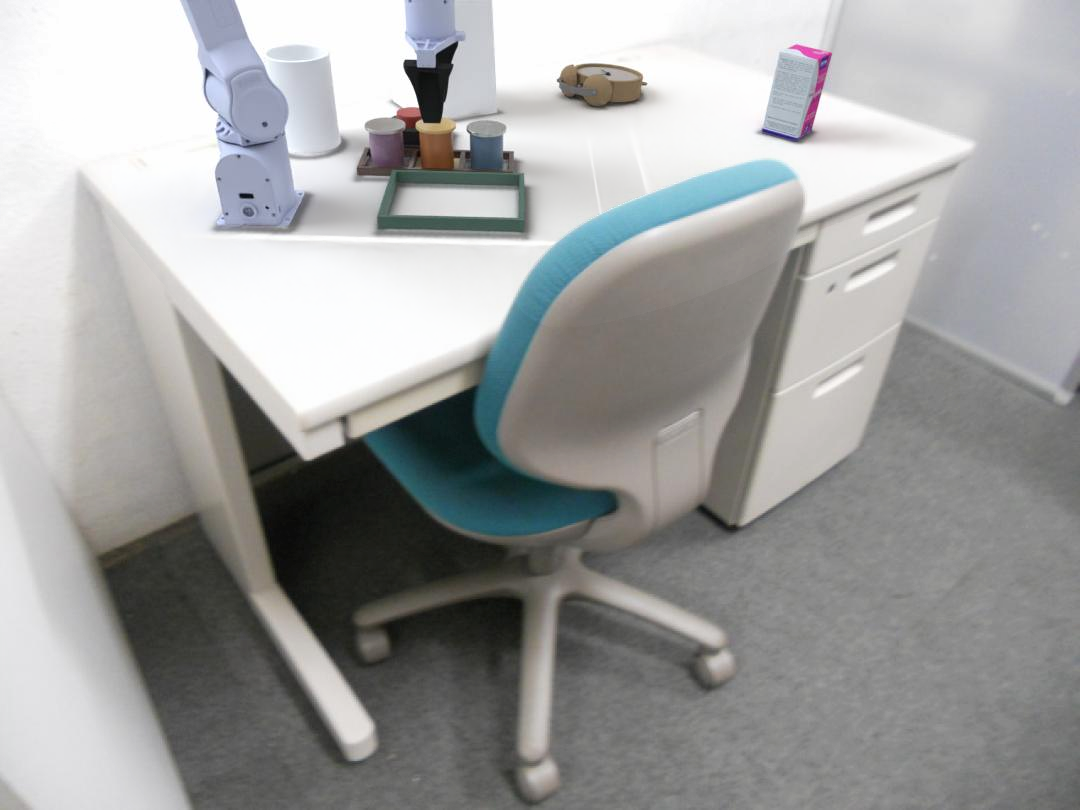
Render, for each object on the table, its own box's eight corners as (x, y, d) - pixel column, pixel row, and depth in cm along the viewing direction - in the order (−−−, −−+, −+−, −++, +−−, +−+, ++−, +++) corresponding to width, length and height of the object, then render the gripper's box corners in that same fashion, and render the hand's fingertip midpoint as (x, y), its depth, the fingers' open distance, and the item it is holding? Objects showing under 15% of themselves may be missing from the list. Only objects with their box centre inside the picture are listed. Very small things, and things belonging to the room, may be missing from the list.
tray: (523, 236, 92) (524, 220, 91) (378, 233, 92) (377, 216, 90) (523, 188, 102) (524, 172, 101) (393, 184, 102) (392, 169, 101)
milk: (392, 101, 126) (377, -95, 110) (458, 90, 132) (453, -99, 116) (429, 125, 119) (418, -82, 103) (497, 112, 124) (497, -87, 108)
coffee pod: (455, 174, 104) (454, 131, 100) (416, 173, 104) (413, 130, 100) (458, 159, 108) (457, 117, 104) (420, 158, 107) (417, 116, 104)
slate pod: (505, 176, 104) (506, 134, 101) (466, 175, 104) (465, 133, 101) (506, 161, 108) (506, 120, 105) (468, 160, 108) (467, 119, 104)
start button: (428, 120, 112) (428, 107, 111) (425, 130, 109) (425, 117, 108) (399, 119, 112) (398, 106, 111) (395, 129, 109) (394, 116, 108)
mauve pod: (405, 174, 104) (402, 132, 100) (366, 173, 103) (361, 130, 100) (410, 159, 108) (407, 117, 104) (371, 158, 107) (367, 116, 104)
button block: (452, 135, 116) (451, 112, 114) (448, 157, 110) (447, 133, 108) (381, 133, 115) (379, 110, 113) (372, 155, 109) (370, 131, 107)
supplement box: (797, 142, 118) (817, 59, 111) (760, 132, 121) (776, 50, 114) (813, 132, 122) (833, 50, 115) (776, 122, 125) (793, 42, 117)
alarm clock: (658, 77, 131) (595, 76, 121) (651, 109, 133) (589, 111, 123) (607, 60, 137) (543, 59, 127) (601, 91, 140) (538, 92, 130)
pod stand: (513, 183, 104) (513, 171, 103) (357, 179, 103) (356, 167, 102) (513, 162, 109) (513, 151, 108) (366, 158, 108) (364, 147, 107)
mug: (252, 137, 113) (235, 45, 105) (307, 123, 118) (294, 34, 110) (299, 162, 106) (284, 66, 99) (354, 147, 111) (344, 54, 104)
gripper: (460, 7, 87) (464, 133, 96) (467, -22, 99) (470, 93, 107) (394, 5, 87) (403, 131, 96) (408, -24, 99) (416, 91, 107)
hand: (434, 111), depth 101 cm, fingers open, 7 cm apart
